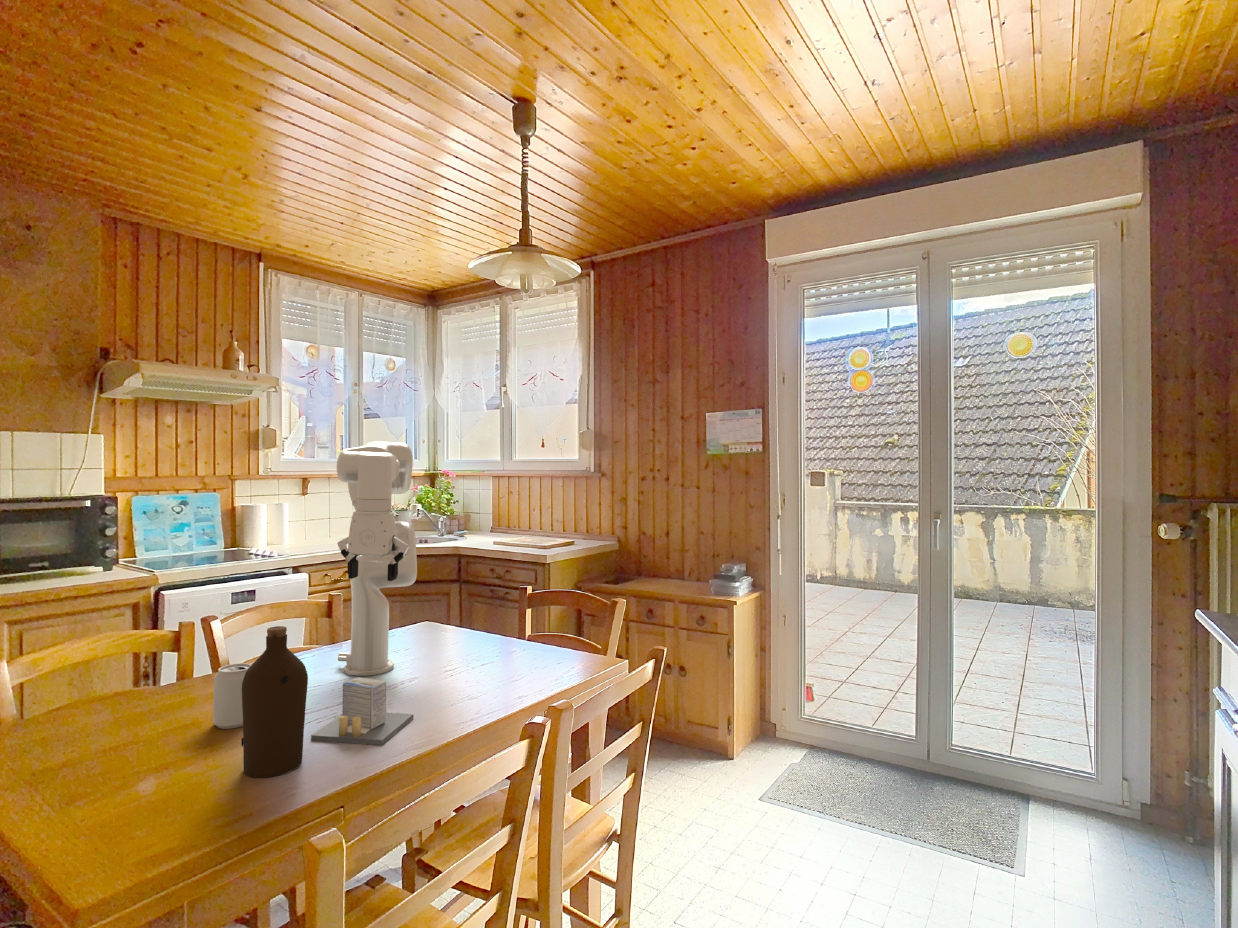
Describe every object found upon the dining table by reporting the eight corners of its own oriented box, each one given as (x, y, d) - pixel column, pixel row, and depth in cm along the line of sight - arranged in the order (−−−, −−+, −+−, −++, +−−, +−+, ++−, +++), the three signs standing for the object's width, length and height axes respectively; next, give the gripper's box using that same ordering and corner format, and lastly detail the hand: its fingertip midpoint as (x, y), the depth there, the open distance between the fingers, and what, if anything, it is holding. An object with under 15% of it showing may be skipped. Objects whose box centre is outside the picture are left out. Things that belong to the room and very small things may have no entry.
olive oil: (318, 757, 120) (322, 623, 121) (274, 783, 110) (278, 637, 110) (272, 750, 123) (275, 619, 124) (224, 774, 113) (228, 632, 113)
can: (262, 719, 138) (263, 663, 139) (231, 732, 131) (232, 673, 131) (236, 714, 141) (237, 659, 141) (204, 727, 134) (205, 669, 134)
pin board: (310, 740, 128) (311, 717, 128) (348, 714, 142) (349, 693, 142) (382, 744, 126) (382, 722, 126) (413, 718, 140) (413, 697, 140)
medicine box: (386, 722, 135) (387, 680, 135) (371, 730, 131) (372, 687, 131) (356, 716, 138) (357, 676, 138) (341, 724, 134) (342, 682, 134)
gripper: (330, 506, 148) (328, 580, 148) (402, 509, 146) (400, 584, 146) (348, 503, 155) (346, 574, 156) (416, 506, 153) (414, 577, 153)
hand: (372, 578), depth 151 cm, fingers open, 9 cm apart
